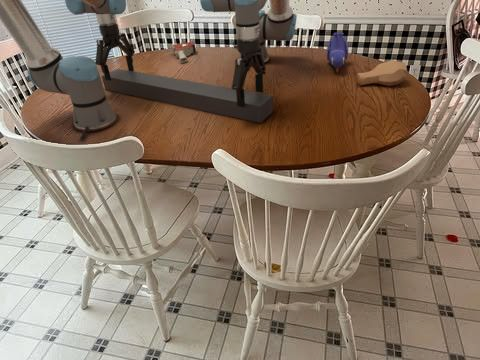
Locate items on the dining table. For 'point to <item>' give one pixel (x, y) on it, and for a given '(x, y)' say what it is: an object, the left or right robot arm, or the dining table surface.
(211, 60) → the dining table surface
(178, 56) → the tape dispenser
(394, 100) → the dining table surface
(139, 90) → the slab
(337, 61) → the toy
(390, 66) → the squash
